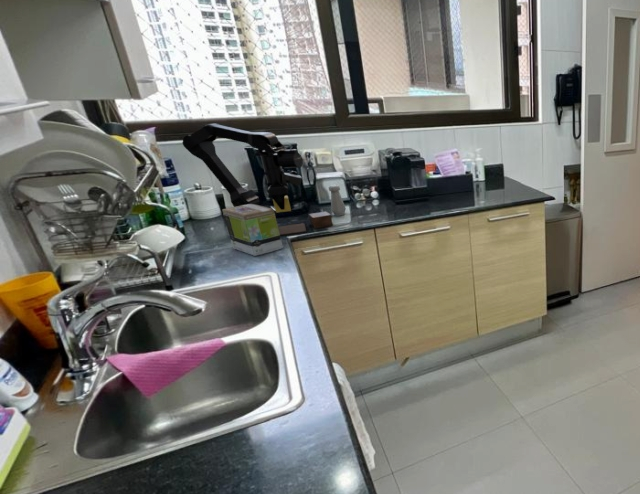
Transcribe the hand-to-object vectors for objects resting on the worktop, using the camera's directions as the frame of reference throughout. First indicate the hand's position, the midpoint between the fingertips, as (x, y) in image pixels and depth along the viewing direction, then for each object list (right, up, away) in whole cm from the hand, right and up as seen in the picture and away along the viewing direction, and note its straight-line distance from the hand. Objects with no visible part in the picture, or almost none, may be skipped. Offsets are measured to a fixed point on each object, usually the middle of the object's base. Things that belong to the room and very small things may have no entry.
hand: (282, 207), depth 181 cm
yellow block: (0, -1, 0) cm, 1 cm away
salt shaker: (+9, 0, +24) cm, 26 cm away
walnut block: (+10, -6, +10) cm, 15 cm away
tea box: (+1, -17, -15) cm, 23 cm away
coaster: (0, -9, +4) cm, 9 cm away
